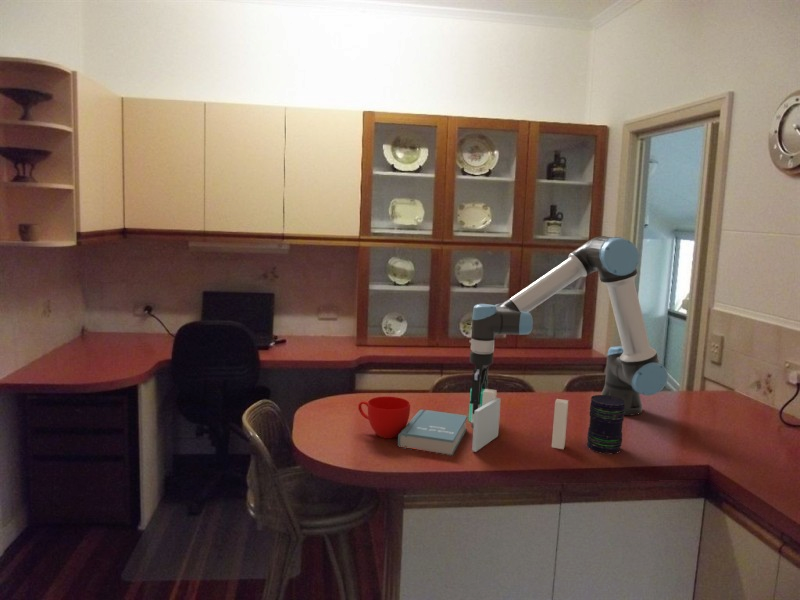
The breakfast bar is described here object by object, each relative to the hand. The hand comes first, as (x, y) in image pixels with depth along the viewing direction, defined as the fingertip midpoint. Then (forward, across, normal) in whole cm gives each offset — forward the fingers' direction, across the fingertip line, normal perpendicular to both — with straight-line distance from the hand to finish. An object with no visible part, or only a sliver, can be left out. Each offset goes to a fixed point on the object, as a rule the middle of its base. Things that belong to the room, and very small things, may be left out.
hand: (477, 419), depth 199 cm
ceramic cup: (+1, +25, -24) cm, 35 cm away
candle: (+1, 0, 0) cm, 1 cm away
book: (+1, +21, -8) cm, 23 cm away
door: (0, +19, +6) cm, 20 cm away
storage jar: (+1, +6, +40) cm, 40 cm away
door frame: (0, +11, +17) cm, 20 cm away
